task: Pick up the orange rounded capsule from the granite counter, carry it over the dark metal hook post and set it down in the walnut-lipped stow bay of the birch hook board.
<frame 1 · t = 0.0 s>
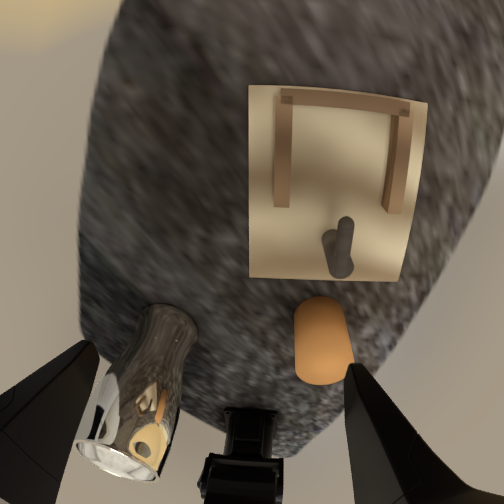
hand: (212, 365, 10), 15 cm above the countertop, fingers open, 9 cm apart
orange rounded capsule: (318, 316, 27), on the countertop
hook board: (335, 188, 21), on the countertop
silver tall piece: (168, 326, 29), on the countertop
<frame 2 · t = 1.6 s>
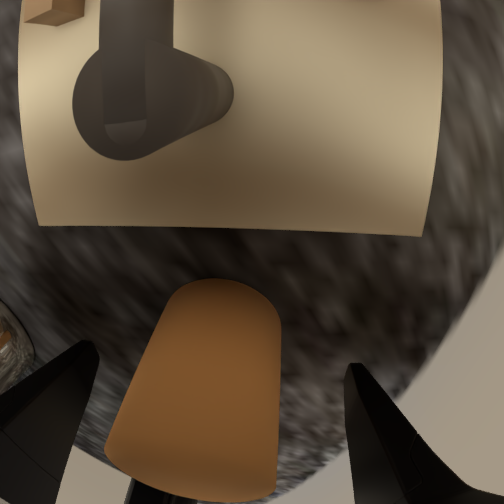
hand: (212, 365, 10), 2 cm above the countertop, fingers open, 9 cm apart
orange rounded capsule: (221, 327, 11), on the countertop
silver tall piece: (0, 325, 14), on the countertop
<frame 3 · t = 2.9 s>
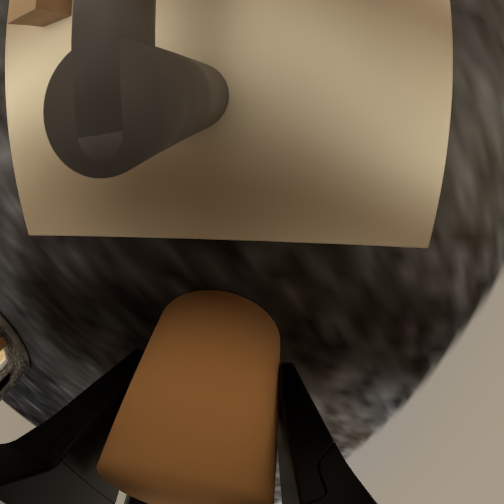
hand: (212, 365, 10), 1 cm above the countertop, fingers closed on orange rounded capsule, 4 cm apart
orange rounded capsule: (218, 340, 11), on the countertop, touching gripper
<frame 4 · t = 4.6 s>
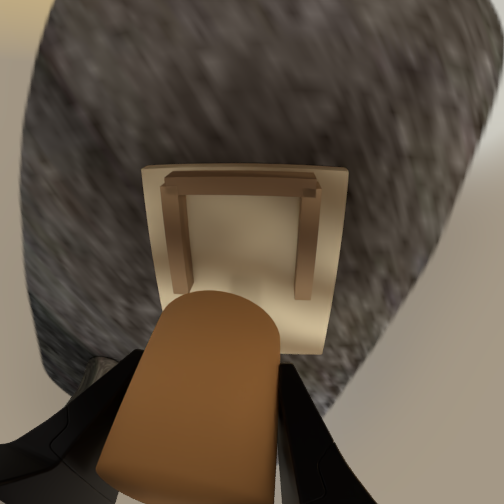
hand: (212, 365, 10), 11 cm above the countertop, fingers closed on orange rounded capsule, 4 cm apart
orange rounded capsule: (218, 340, 11), point 10 cm above the countertop, touching gripper
hook board: (244, 267, 21), on the countertop
silver tall piece: (113, 374, 29), on the countertop
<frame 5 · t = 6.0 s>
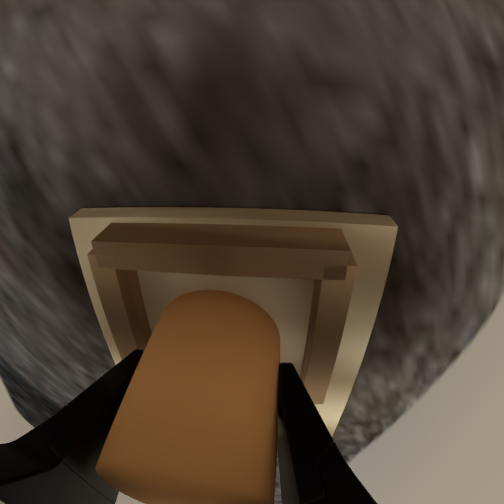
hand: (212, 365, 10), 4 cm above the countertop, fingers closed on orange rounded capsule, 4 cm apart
orange rounded capsule: (217, 340, 11), point 2 cm above the countertop, touching gripper
hook board: (230, 349, 14), on the countertop
when the fingers open (3 cm above the countertop, at t = 6.7 s): orange rounded capsule drops 1 cm, resting on hook board.
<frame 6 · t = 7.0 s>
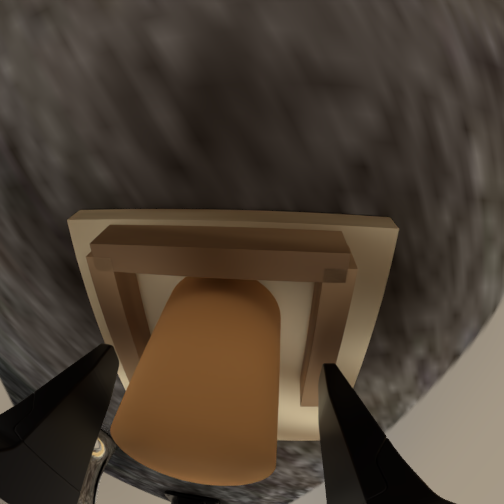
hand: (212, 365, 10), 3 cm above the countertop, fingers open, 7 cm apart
orange rounded capsule: (223, 317, 12), point 1 cm above the countertop, touching hook board
hook board: (230, 351, 14), on the countertop
silver tall piece: (87, 431, 22), on the countertop
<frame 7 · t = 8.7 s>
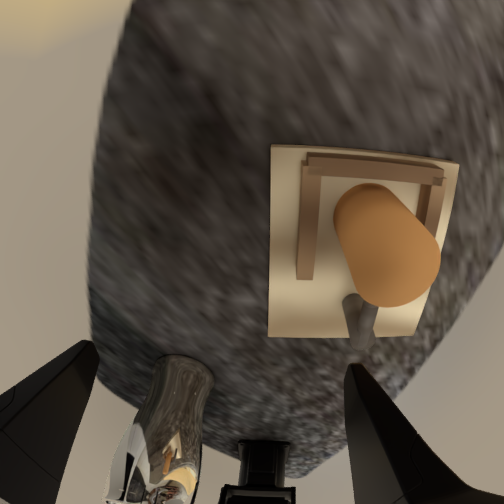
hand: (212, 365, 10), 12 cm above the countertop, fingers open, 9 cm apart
orange rounded capsule: (367, 217, 18), point 1 cm above the countertop, touching hook board
hook board: (357, 252, 21), on the countertop
silver tall piece: (184, 373, 29), on the countertop
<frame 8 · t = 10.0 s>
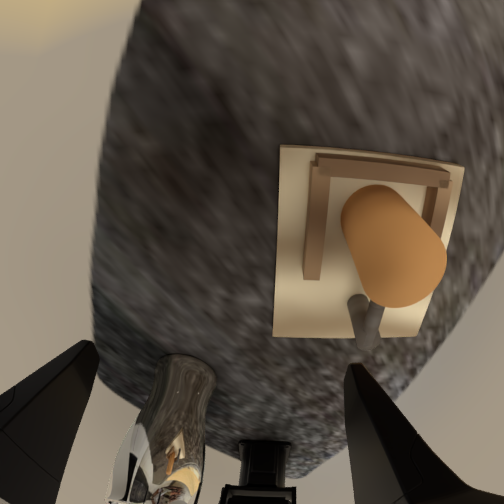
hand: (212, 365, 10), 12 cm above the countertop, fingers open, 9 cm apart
orange rounded capsule: (374, 218, 18), point 1 cm above the countertop, touching hook board
hook board: (363, 253, 21), on the countertop
silver tall piece: (186, 373, 29), on the countertop
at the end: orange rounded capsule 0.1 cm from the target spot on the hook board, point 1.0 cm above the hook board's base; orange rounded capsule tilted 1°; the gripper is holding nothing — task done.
